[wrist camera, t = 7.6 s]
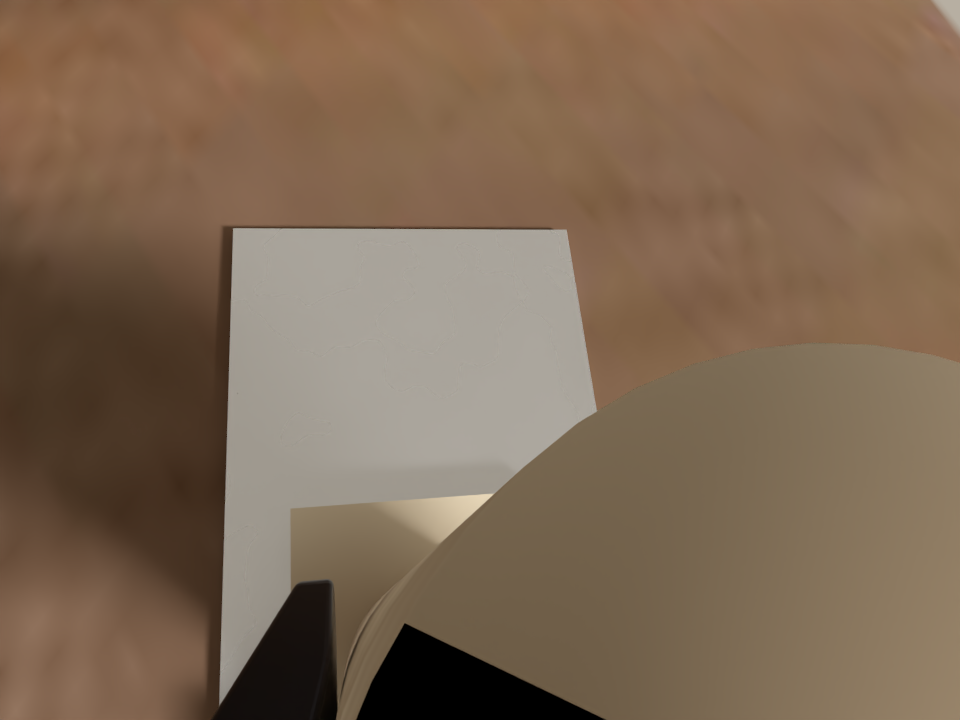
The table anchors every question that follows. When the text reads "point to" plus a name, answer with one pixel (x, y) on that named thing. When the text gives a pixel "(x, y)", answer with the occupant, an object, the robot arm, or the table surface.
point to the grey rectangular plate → (384, 383)
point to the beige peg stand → (676, 558)
